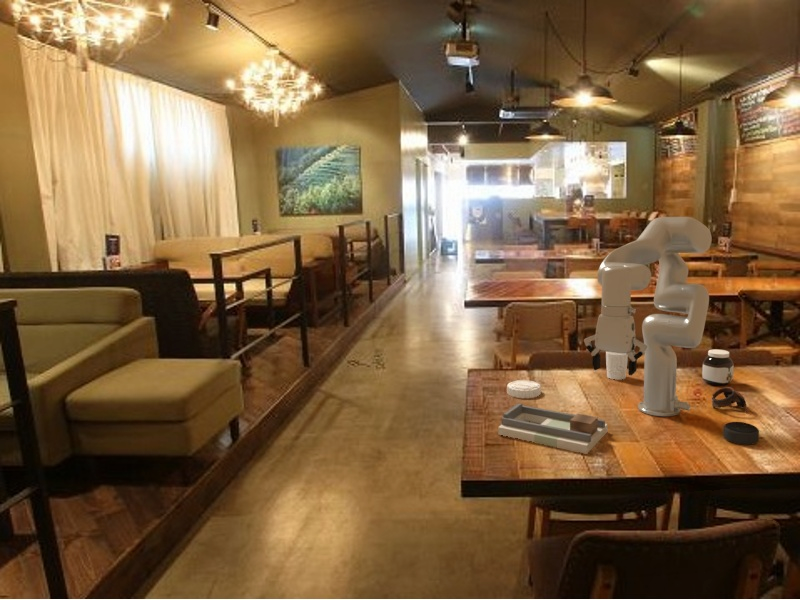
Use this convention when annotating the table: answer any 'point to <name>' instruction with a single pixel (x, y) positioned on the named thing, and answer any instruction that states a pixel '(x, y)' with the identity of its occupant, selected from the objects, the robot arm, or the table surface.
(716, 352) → the spread jar
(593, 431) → the walnut block
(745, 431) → the smart speaker
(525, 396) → the mooncake
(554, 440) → the lane board
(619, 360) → the white cup
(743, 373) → the table surface
